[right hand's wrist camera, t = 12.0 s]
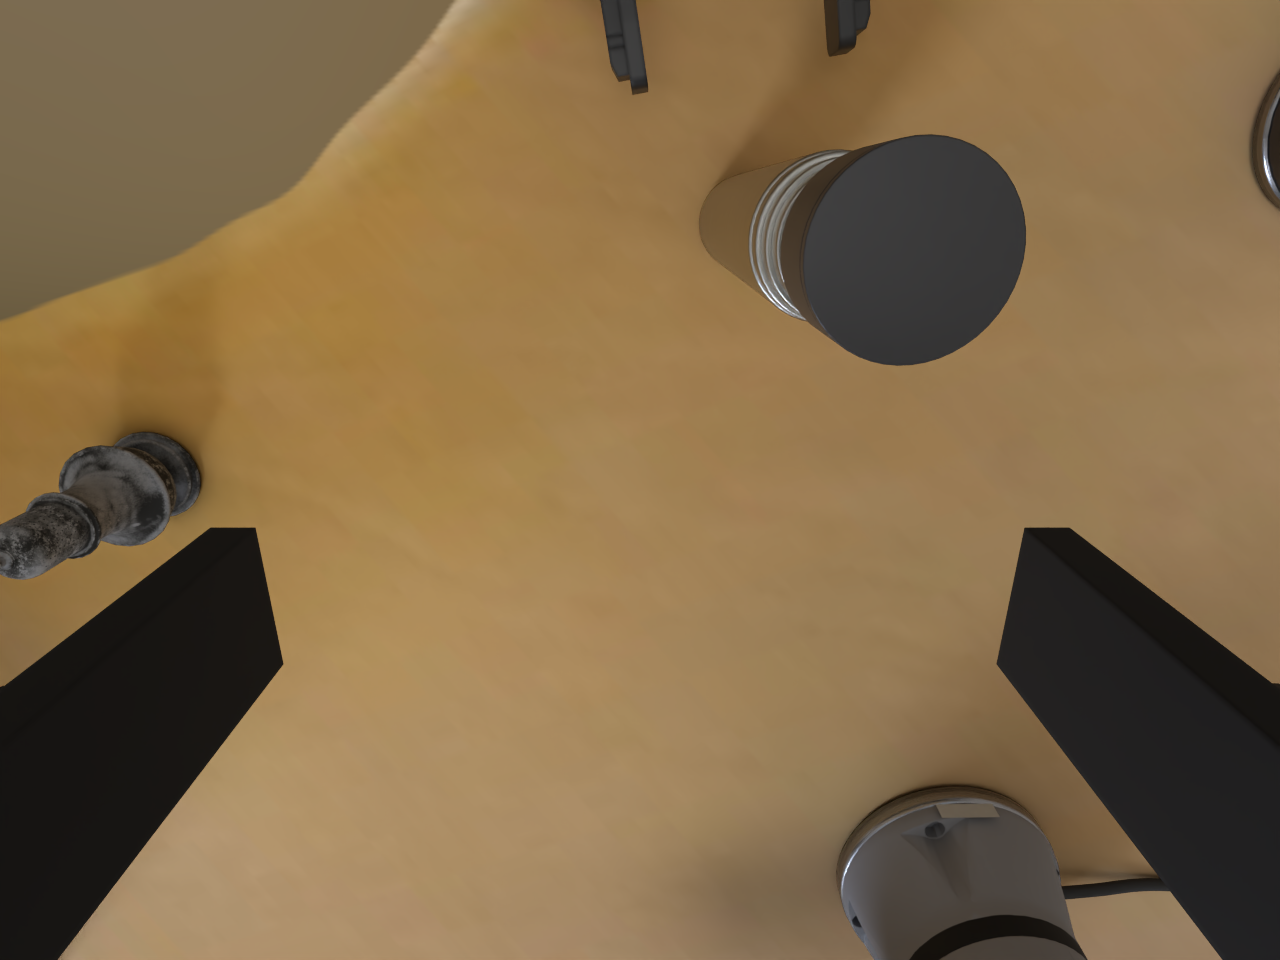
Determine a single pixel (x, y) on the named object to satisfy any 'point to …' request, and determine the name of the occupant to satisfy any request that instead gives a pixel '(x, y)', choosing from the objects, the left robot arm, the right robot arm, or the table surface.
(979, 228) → the cap
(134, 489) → the grey metal turned piece
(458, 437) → the table surface
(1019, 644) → the right robot arm
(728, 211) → the bottle
